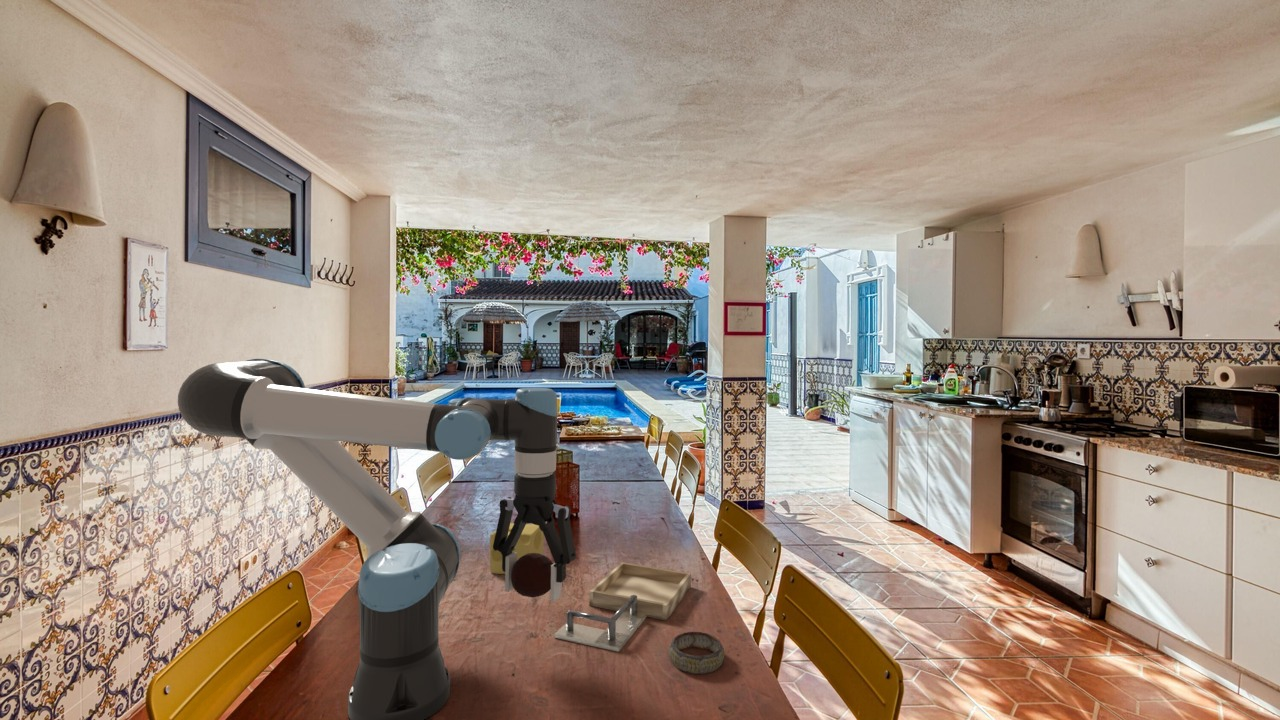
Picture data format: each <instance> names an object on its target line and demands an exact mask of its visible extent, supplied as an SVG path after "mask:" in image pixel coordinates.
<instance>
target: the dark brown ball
mask: <svg viewBox="0 0 1280 720" xmlns="http://www.w3.org/2000/svg"><path fill="white" fill-rule="evenodd" d="M552 564H554V563H553V561H552V560H551V559H550V557H548V556H546V555H545V554H543V555H542V554H539V553H528V554H526V555H524V556H522V557H520V558H519V559H518V560H517V561H516V563H515V564H514V566H513V569H512V572H511V582H512V586H513V589H514V591H515V592H516V593H517V594H519V595H521V596H522V597H528V598H536V597H541V596H544V595H545V594H547V593H548V592H549V591H551V565H552Z"/></svg>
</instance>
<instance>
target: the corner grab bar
mask: <svg viewBox="0 0 1280 720" xmlns="http://www.w3.org/2000/svg"><path fill="white" fill-rule="evenodd" d="M629 606H630V610H628V609H627V608H628V607H629ZM565 613H566V616H565V617H566V622H565V624H563V625H561V627H560V628H558V630H557V631H555V633H554V638H555V639H559V640H562V641H568V642H572V643H577V644H581V645H584V646H585V645H586V646H591V647H594V648H595V647H596V648H600V649H604V650H608V651H612V652H616V653H617V652H618V653H619V652H620V651H621V650H622V648H623V647H624V646H625V645H626V643H627V642H628V641H629V639H631V637H632V636H633V635H634V633H635V632H636V631H637V630H638V629H637V628H639V627H640V626H641V624H643V622H644V621H645V620H646V619H647V618H648V617H647V613H643V612H638V611H637V596H636V595H631V596H630V598H629V599H628V601H627V602H626V603H625V604H624V605H623V606H622V607H621V608H620V609H619V610H618V611H616V612H615V614H614V615H613V616H612V617H607V616H602V615H599V614H598V615H597V614H592V613H588V612H587V613H586V612H583V611H578V610H574V609H573V610H572V609H567V610H566V612H565ZM574 617H576V618H579V619H586V620H590V621H595V622H600V623H604V624H605V623H606V624H608V625H607V628H606V629H601V628H596V627H592V626H588V625H585V624H584V625H583V624H578V623H574V621H575V619H574Z"/></svg>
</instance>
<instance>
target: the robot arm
mask: <svg viewBox="0 0 1280 720" xmlns="http://www.w3.org/2000/svg"><path fill="white" fill-rule="evenodd" d="M557 396H558V395H557V393H556V392H555V390H553V389H552V388H548V387H521V388H518V389H517V390H516V392H515V396H514V398H505V399H503V398H499V399H498V398H475V397H474V398H473V397H464V398H453V399H451V400H449V401H448V403H447V404H442V403H441V404H439V403H434V402H427V401H426V402H424V401H415V400H408V399H398V398H390V397H382V396H381V397H380V396H374V395H364V394H355V393H347V392H339V391H330V390H320V389H313V388H306V386H305V383H304V380H303V378H302V377H301V375H300V374H299V373H298V372H297V370H295V369H294V368H293V367H291V366H290V365H288V364H286V363H284V362H282V361H279V360H273V359H267V358H251V359H247V360H244V361H243V360H242V361H228V362H217V363H211V364H207V365H204V366H202V367H199V368H198V369H196V370H195V371H193V372H192V373H190V374H189V375H188V377H186V379H185V380H184V381H183V383H182V384H181V386H180V388H179V390H178V395H177V406H178V411H179V414H180V415H181V417H182V419H183V420H184V421H185V423H186V424H187V425H189V427H191V428H192V429H194V430H196V431H198V432H200V433H202V434H203V435H209V436H214V437H215V436H216V437H227V438H238V439H245V440H246V441H247V442H248V443H249V444H250V445H251V446H252V447H253V448H255V449H259V450H260V449H264V450H265V449H266V450H270V451H271V452H272V453H273V454H274V455H275V456H276V457H277V458H278V459H279V460H280V461H281V462H282V463H283V464H284V465H285V466H286V467H287V468H288V470H290V471H291V472H292V473H293V474H294V475H295V476H296V477H297V478H298V480H300V481H301V482H302V483H303V484H304V485H305V486H306V487H307V488H308V490H310V491H311V492H312V493H313V494H314V495H315V497H316V498H318V499H319V500H320V501H321V503H323V504H324V505H325V506H326V507H327V509H329V510H330V511H331V512H332V514H333V515H335V516H336V517H337V518H338V519H339V521H341V522H342V523H343V524H344V525H345V526H346V527H347V529H349V531H351V532H352V533H353V534H354V536H356V537H357V538H358V539H359V540H360V542H362V543H363V544H364V546H365V547H366V549H367V555H366V560H365V561H364V562H363V564H362V566H361V567H360V570H359V577H358V578H359V579H358V584H357V595H358V615H359V616H358V617H359V619H358V620H359V622H358V623H359V629H358V630H359V631H358V632H359V663H358V665H357V669H356V671H355V674H354V677H353V682H352V685H351V688H350V690H349V693H348V698H347V714H348V718H349V720H424V719H425V720H426V719H427V720H428V717H429V718H430V717H432V716H433V715H435V714H436V713H437V712H439V711H440V710H441V709H442V708H443V707H444V706H445V705H446V703H447V702H448V700H449V698H450V695H451V675H450V673H449V670H448V669H447V667H446V665H445V661H444V658H443V655H442V652H441V649H440V645H439V631H440V630H439V609H440V608H439V607H440V603H441V601H442V599H443V597H444V596H445V594H446V593H447V590H448V589H449V586H450V584H452V582H453V581H454V579H455V577H456V576H457V574H458V571H459V567H460V563H461V555H462V554H461V546H460V543H459V540H458V539H457V536H455V534H454V533H453V532H452V530H450V529H449V528H448V527H446V526H444V525H442V524H441V523H440V524H438V523H433V522H432V523H431V522H430V521H429V520H428V519H427V518H426V517H425V515H423V513H421V512H420V511H408V510H406V509H405V508H404V507H403V505H401V504H400V503H399V502H398V501H397V500H396V499H395V498H394V497H393V496H392V495H391V494H390V493H389V491H387V489H385V487H383V485H382V484H380V482H379V481H377V479H376V478H374V477H373V475H372V474H371V473H370V472H369V471H368V470H367V469H366V468H365V467H364V466H363V465H362V464H361V463H360V462H359V461H358V460H357V459H356V458H355V457H354V456H353V455H352V454H351V453H350V452H349V451H348V450H347V449H346V448H345V447H344V446H343V445H342V443H340V442H343V443H352V444H363V445H371V446H372V445H374V446H380V447H381V446H382V447H393V448H399V449H400V448H401V449H409V450H419V451H420V450H422V451H427V452H428V451H430V452H437V453H442V454H443V455H444V456H446V457H447V458H450V459H452V460H456V461H457V460H458V461H459V460H460V461H461V460H467V459H470V458H472V457H475V456H476V455H478V454H479V453H480V452H482V451H483V450H484V449H485V447H486V446H487V445H488V442H489V441H514V469H513V471H514V472H516V474H515V475H514V478H513V484H514V485H513V489H514V490H513V492H514V495H515V496H514V498H512V497H511V496H508V497H507V496H506V497H505V498H503V499H500V501H499V512H500V513H499V517H498V522H497V526H496V530H495V531H496V534H495V539H494V544H493V549H494V550H495V551H497V550H498V551H499V552H501V554H502V570H503V571H504V572H505V574H504V578H505V579H504V592H507V593H509V592H510V591H512V590H513V589H514V588H513V586H512V582H511V572H512V569H513V566H514V564H515V563H516V561H517V552H513V553H512V551H513V550H515V549H514V548H515V546H516V544H517V542H518V540H519V538H520V536H521V533H522V531H523V529H524V527H525V525H526V524H535V525H539V528H540V530H541V531H543V534H544V540H546V543H547V547H548V549H549V551H550V555H551V556H552V559H553V561H554V563H553V564H552V565H551V589H550V595H549V596H550V602H552V603H553V602H556V601H557V600H558V599H560V598H561V596H562V592H563V591H562V589H563V588H562V587H563V586H562V583H563V582H564V581H565V580H566V578H567V565H569V564H570V563H572V562H573V561H575V560H576V558H577V553H576V547H575V546H576V545H575V541H574V535H573V531H572V523H571V519H570V518H571V511H572V508H571V505H565V506H562V505H559V504H557V501H556V498H555V496H556V491H557V490H556V489H557V487H556V486H557V475H556V474H555V471H556V469H557V439H558V437H557V435H558V397H557ZM514 509H515V510H516V512H517V514H516V517H515V519H514V521H513V523H514V525H513V527H512V529H511V531H510V533H509V536H508V531H509V527H510V523H512V522H511V521H512V518H513V512H514ZM554 513H555V519H557V528H558V529H557V528H556V526H555V525H556V522H555V519H554V517H553V514H554ZM507 536H508V538H507Z"/></svg>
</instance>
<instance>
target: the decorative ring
mask: <svg viewBox="0 0 1280 720" xmlns="http://www.w3.org/2000/svg"><path fill="white" fill-rule="evenodd" d="M686 649H687V650H688V649H702V650H707V651H709V652H711V653H710V654H706V655H705V654H704V655H694V654H692V655H691V654H690V653H689V654H688V653H685V652H682V651H683V650H686ZM725 654H726V653H725V649H724V647H723V645H722V642H721V640H719V639H718V638H717V637H716V636H714V635H711V634H709V633H706V632H702V631H688V632H683V633H680V634H677V635H676V636H675V637H674V638H672V640H671V642H670V645H669V647H668V655H669V658H670V661H671V663H672V664H673V666H675V667H676V669H679V670H680V671H681V672H682V671H683V672H685V673H688V674H693V675H704V674H705V675H706V674H711V673H713V672H716V671H717V670H718V669H720V668H721V666H722V664H723V662H724V659H725Z"/></svg>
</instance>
